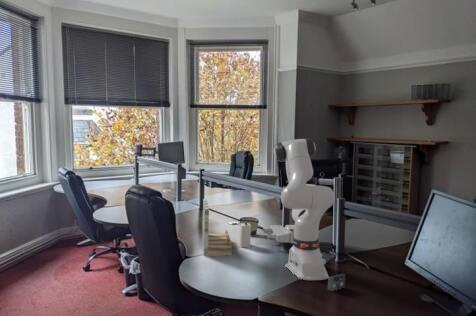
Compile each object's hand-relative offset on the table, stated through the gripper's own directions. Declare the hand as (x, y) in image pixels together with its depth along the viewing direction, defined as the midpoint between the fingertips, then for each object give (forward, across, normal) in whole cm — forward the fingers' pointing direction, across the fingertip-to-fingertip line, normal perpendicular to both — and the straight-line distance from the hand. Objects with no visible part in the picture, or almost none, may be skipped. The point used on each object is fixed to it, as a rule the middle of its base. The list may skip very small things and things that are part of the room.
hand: (265, 233), depth 203 cm
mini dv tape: (-19, +55, +7) cm, 59 cm away
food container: (+5, -21, +7) cm, 23 cm away
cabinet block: (+11, 0, +7) cm, 13 cm away
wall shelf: (+26, +2, +7) cm, 27 cm away
